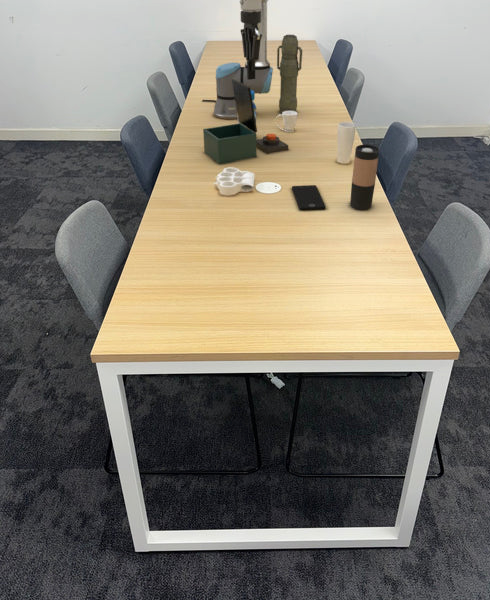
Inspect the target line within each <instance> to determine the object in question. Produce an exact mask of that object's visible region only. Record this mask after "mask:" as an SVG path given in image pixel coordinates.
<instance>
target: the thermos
mask: <svg viewBox="0 0 490 600" xmlns="http://www.w3.org/2000/svg"><path fill="white" fill-rule="evenodd" d="M280 49H281V59H280ZM276 52H277V53H276V68H277V70H278V71H279V76H280V95H279V96H280V97H279V100H278V109H279V110H278V113H279V114H282V112H284V111H295V112H297V108H298V98H297V90H298V77H299V72H300V71H301V70H302V62H303V52H304V51H303V49H302V47H301V46H299V40H298V36H297V35H295V34H285V35H283V36H282V40H281V44H280V45H278V47H277V50H276ZM298 54H299V56H298ZM298 58H299V59H298ZM297 113H298V112H297Z"/></svg>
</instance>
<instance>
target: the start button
mask: <svg viewBox="0 0 490 600" xmlns="http://www.w3.org/2000/svg"><path fill="white" fill-rule="evenodd" d="M265 136H266V139H267V140H276V136H277V135H276V134H275V133H267V134H266V135H265Z"/></svg>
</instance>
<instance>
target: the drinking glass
mask: <svg viewBox="0 0 490 600" xmlns="http://www.w3.org/2000/svg"><path fill="white" fill-rule="evenodd" d="M336 130H337V131H336V162H337V163H338V164H340V165H346V164H349V163H351V157H352V151H353V147H354V141H355V135H356V123H354V122H351V121H341V122H339V123H338V124H337V129H336Z"/></svg>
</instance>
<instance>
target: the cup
mask: <svg viewBox="0 0 490 600" xmlns="http://www.w3.org/2000/svg"><path fill="white" fill-rule="evenodd" d="M298 115H299V113H298V112H295V111H284V112H282V114H281V113H279V114H278V115H277V116H276V117H275V120H274V121H275V125H276V127H277V128H278V129H280V130H281V131H283V132H286V133H293V132H294V131H295V128H296V124H297V120H298ZM278 117H282V122H283V127H284V129H283V128H282V127H281V126H279V125H278V123H277V118H278Z"/></svg>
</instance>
